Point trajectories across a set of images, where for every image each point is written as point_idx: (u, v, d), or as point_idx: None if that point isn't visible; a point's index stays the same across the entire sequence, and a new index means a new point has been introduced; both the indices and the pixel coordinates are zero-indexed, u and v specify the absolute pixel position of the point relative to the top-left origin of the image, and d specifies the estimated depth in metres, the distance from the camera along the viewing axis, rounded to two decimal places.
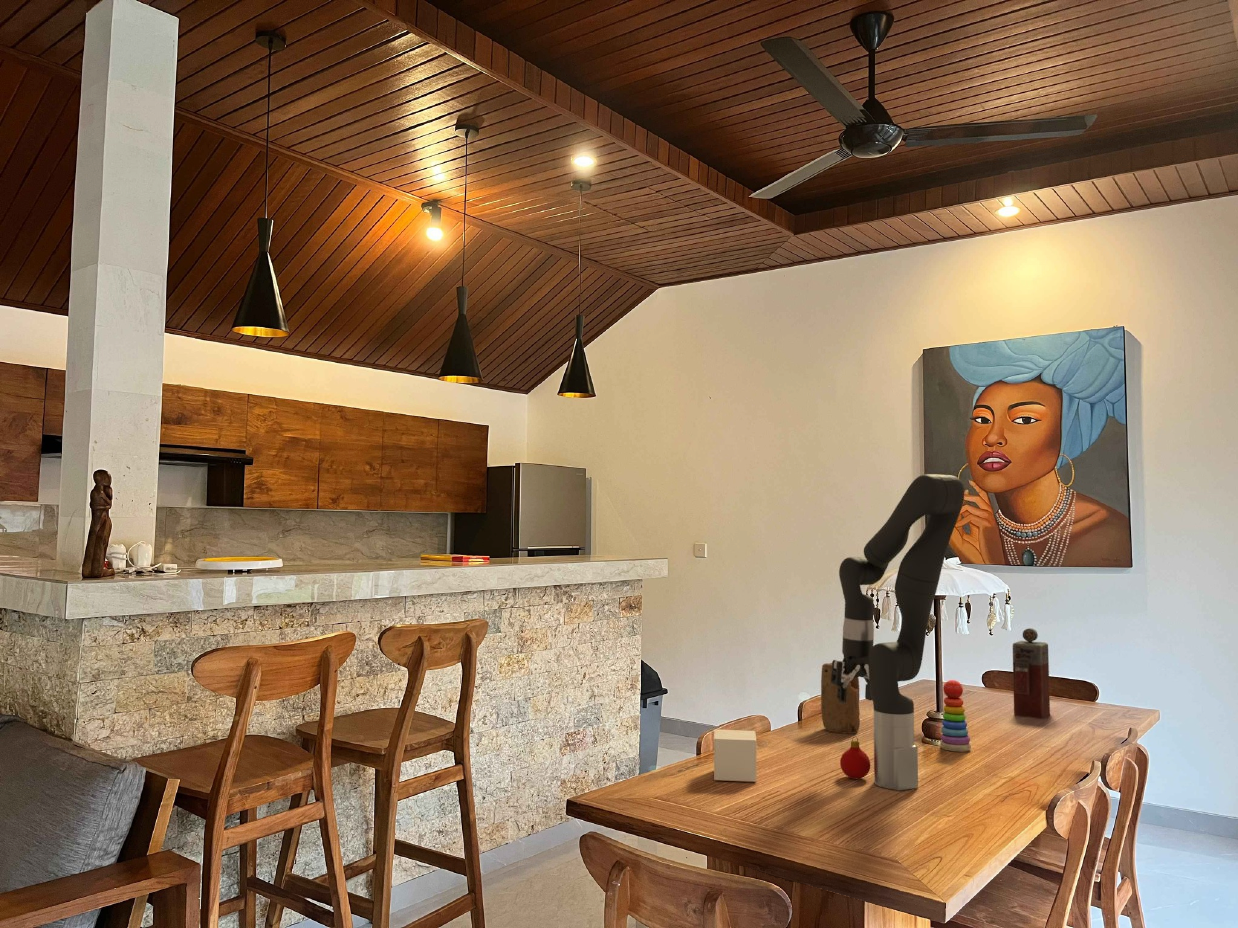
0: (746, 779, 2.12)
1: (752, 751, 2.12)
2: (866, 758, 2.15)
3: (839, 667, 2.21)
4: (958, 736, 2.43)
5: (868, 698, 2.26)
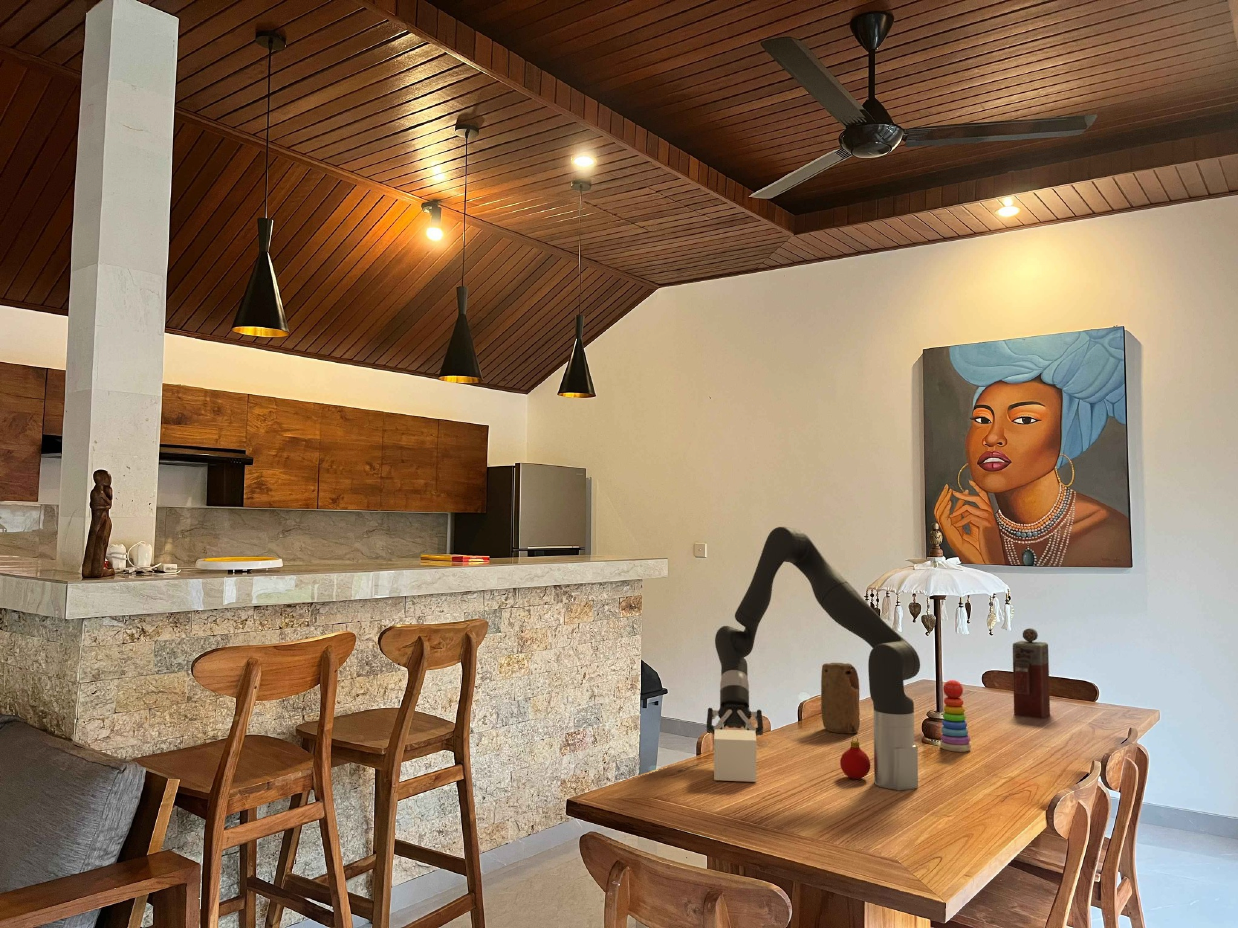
0: (746, 779, 2.12)
1: (752, 751, 2.12)
2: (866, 758, 2.15)
3: (709, 712, 2.30)
4: (958, 736, 2.43)
5: None
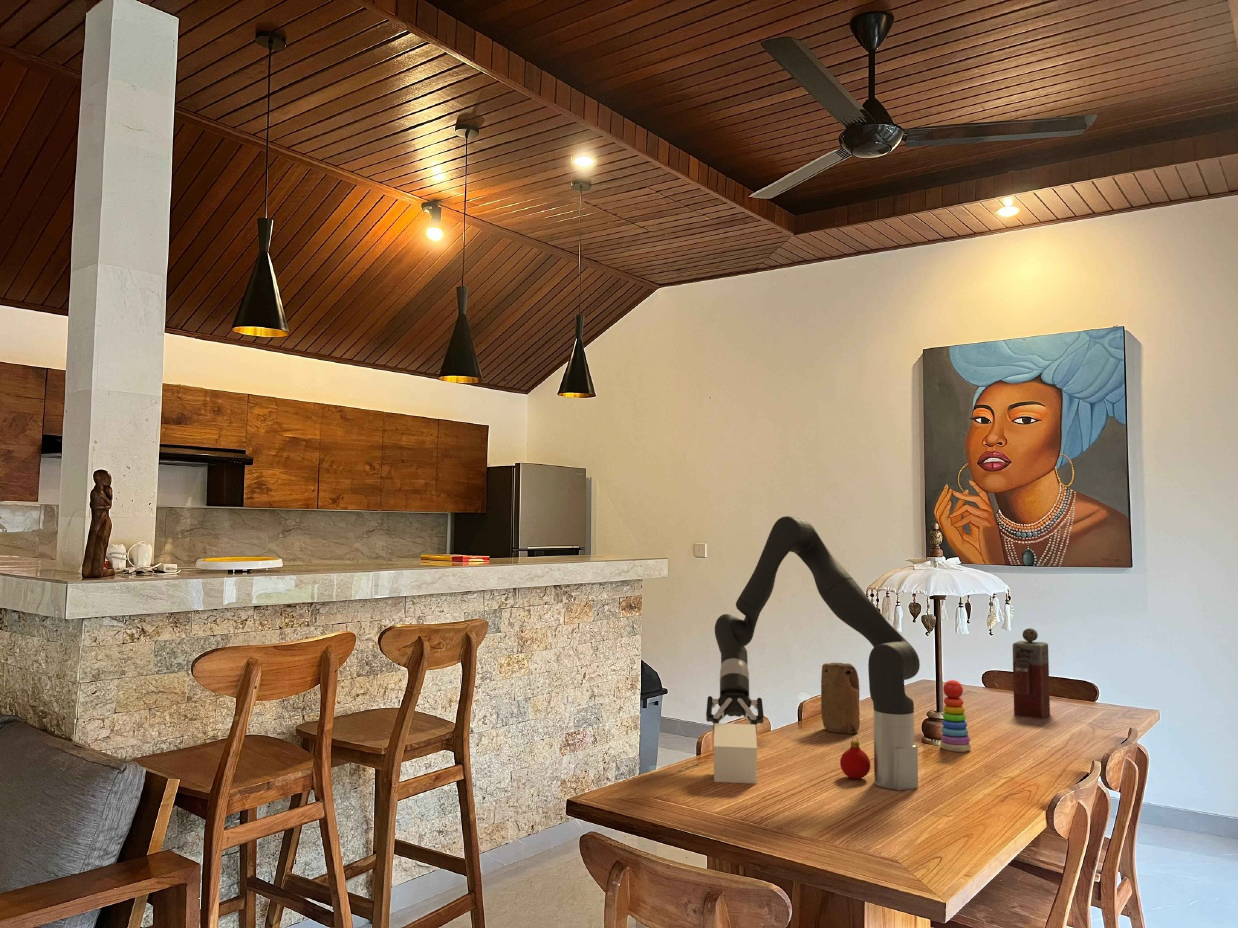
0: (746, 781, 2.12)
1: (752, 757, 2.10)
2: (866, 758, 2.15)
3: (708, 700, 2.27)
4: (958, 736, 2.43)
5: None
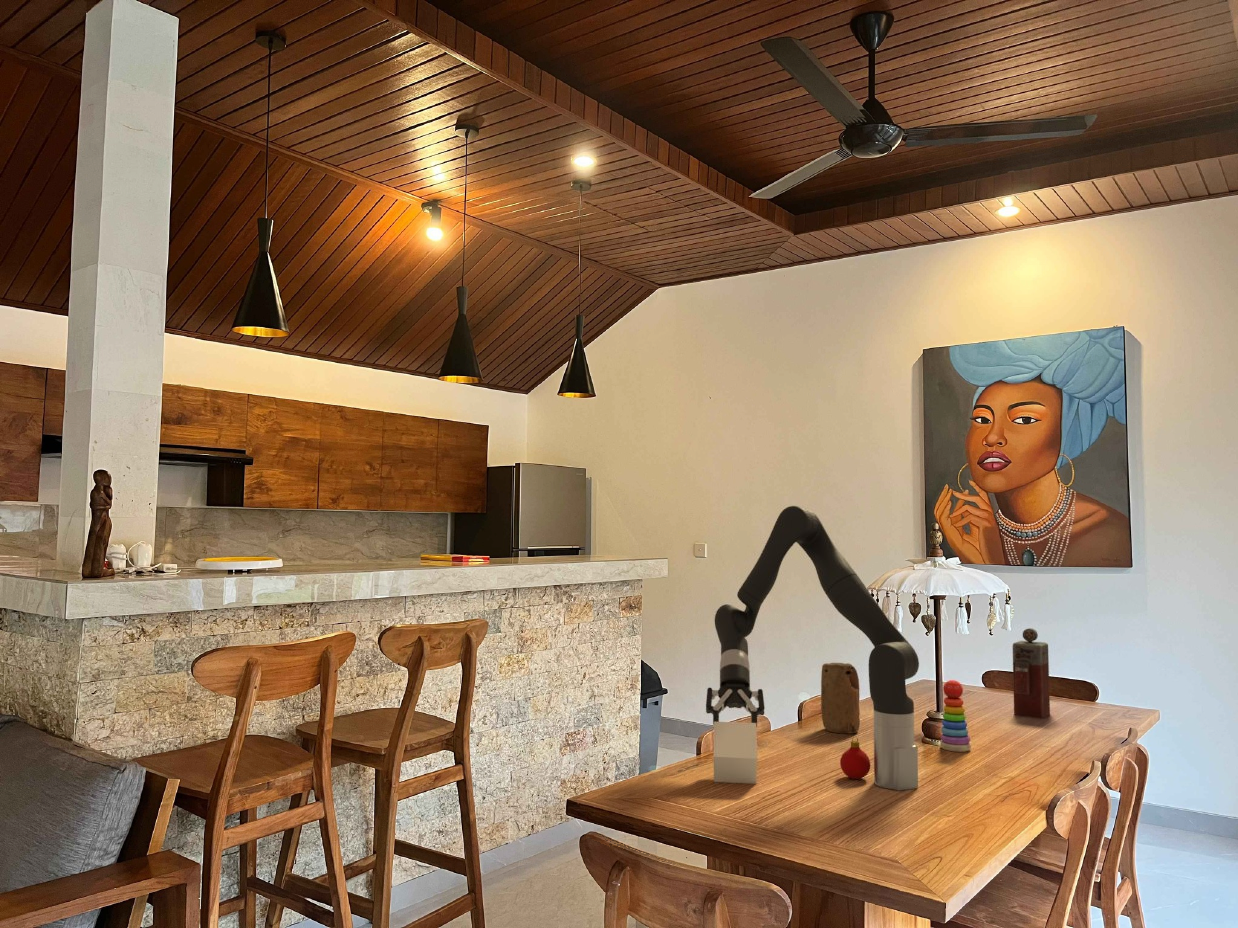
0: (746, 781, 2.11)
1: (752, 765, 2.07)
2: (866, 758, 2.15)
3: (708, 692, 2.22)
4: (958, 736, 2.43)
5: None
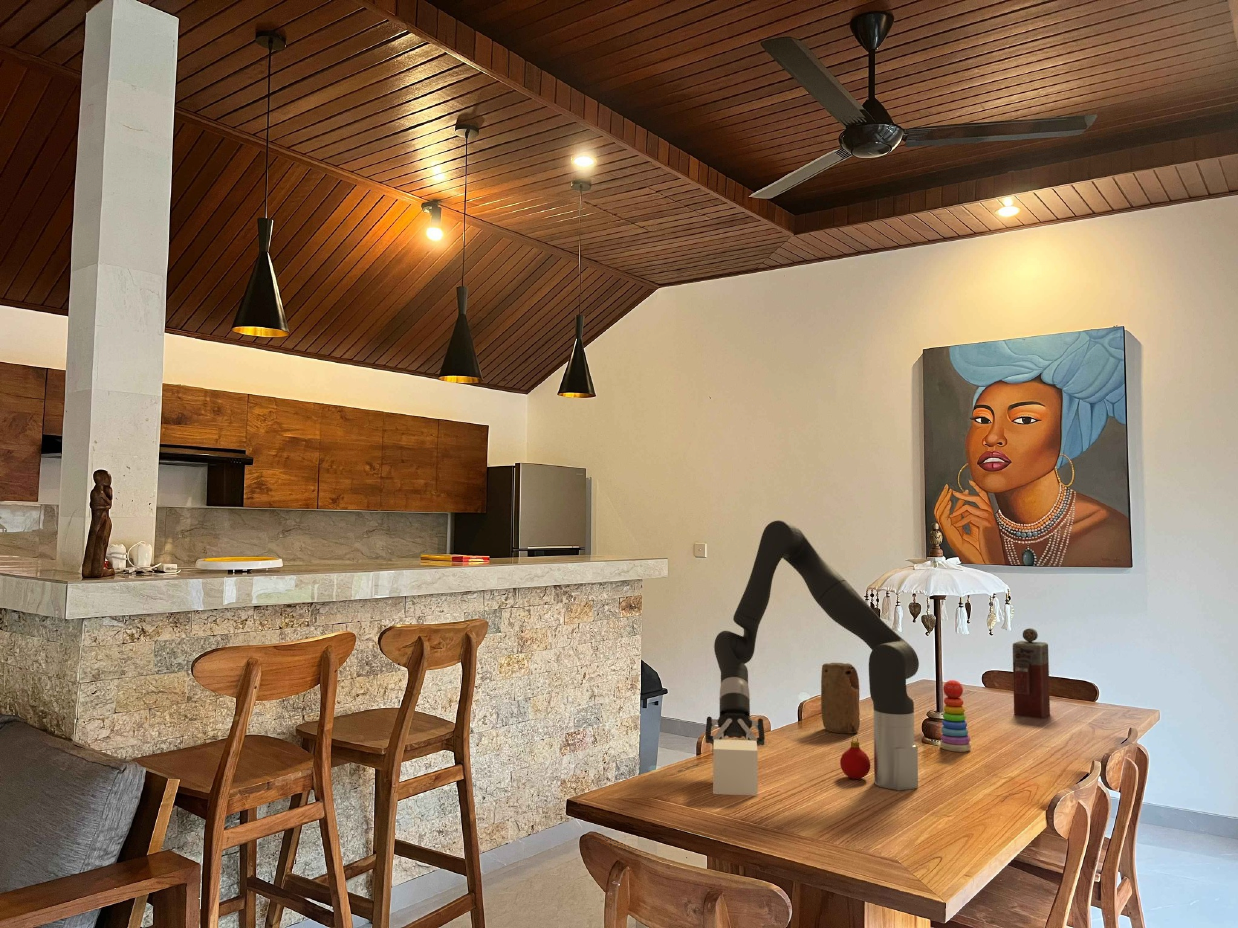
0: None
1: None
2: (866, 758, 2.15)
3: (708, 721, 2.20)
4: (958, 736, 2.43)
5: None
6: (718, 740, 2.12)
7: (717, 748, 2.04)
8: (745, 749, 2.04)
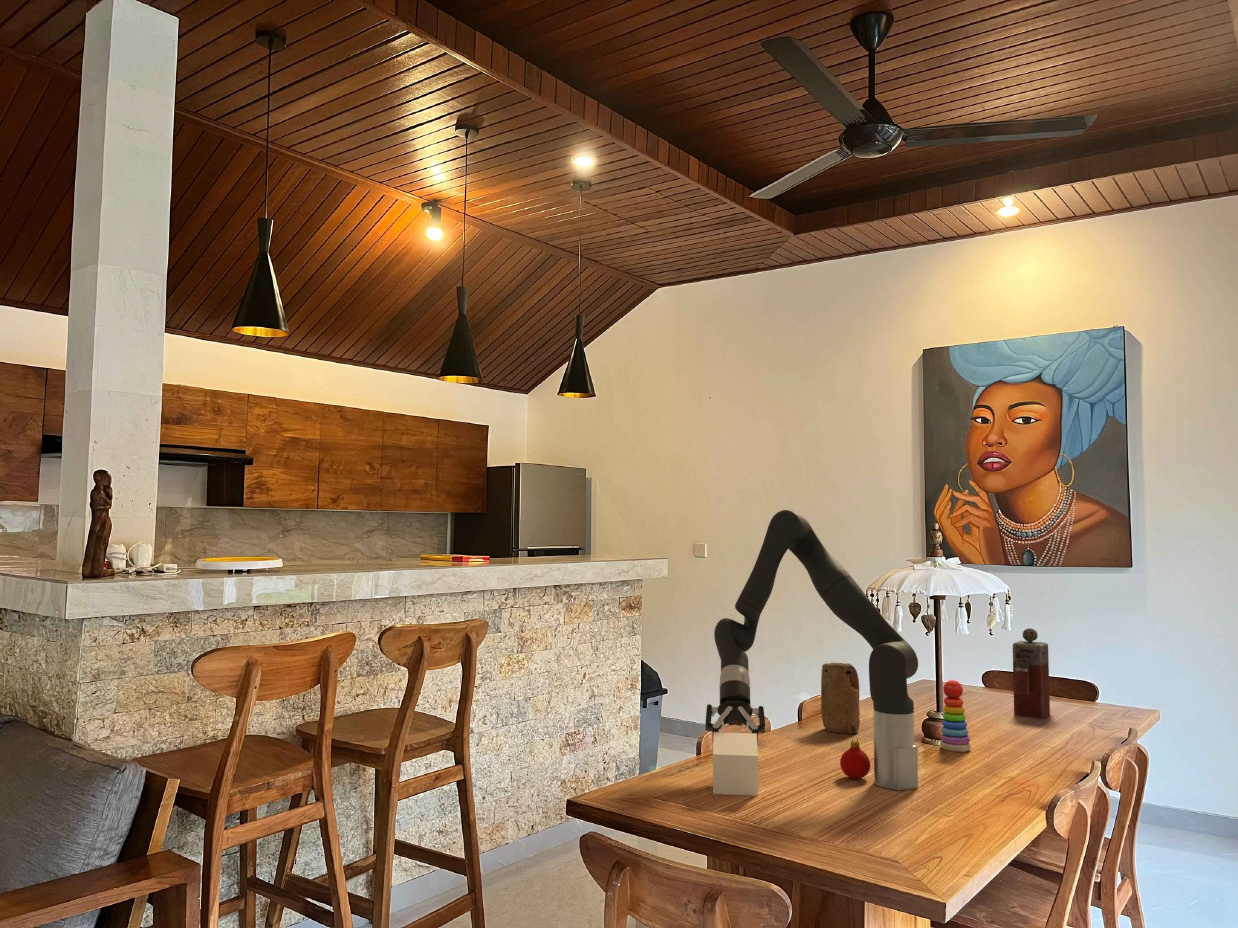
0: None
1: None
2: (866, 758, 2.15)
3: (708, 708, 2.17)
4: (958, 736, 2.43)
5: None
6: (718, 734, 2.09)
7: (717, 752, 2.01)
8: (745, 753, 2.01)
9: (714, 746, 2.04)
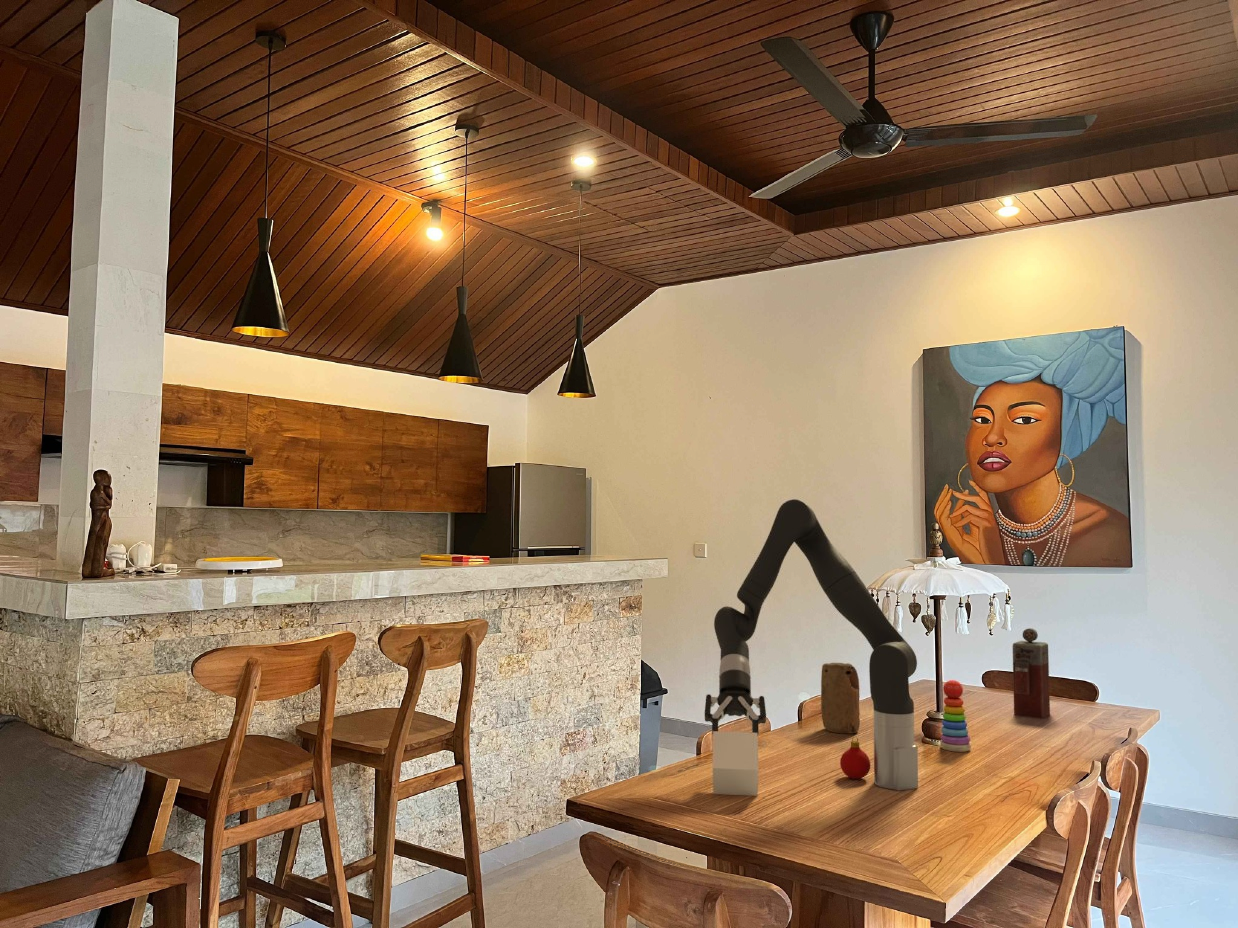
0: None
1: None
2: (866, 758, 2.15)
3: (707, 699, 2.12)
4: (958, 736, 2.43)
5: None
6: (717, 735, 2.03)
7: (717, 765, 1.97)
8: (746, 766, 1.97)
9: (714, 755, 1.99)
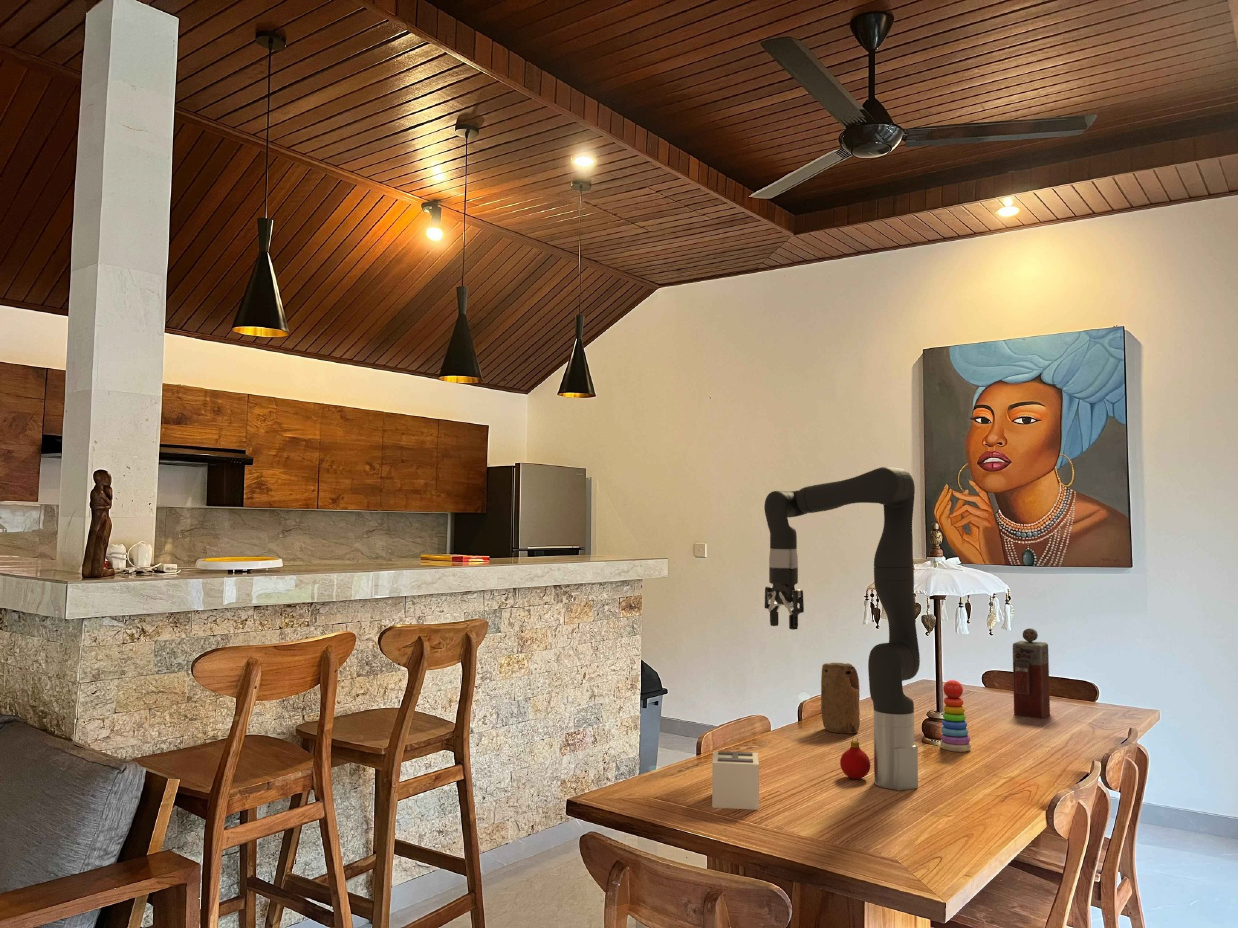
0: None
1: None
2: (866, 758, 2.15)
3: (765, 591, 2.42)
4: (958, 736, 2.43)
5: None
6: (717, 767, 1.94)
7: (716, 804, 1.93)
8: (746, 805, 1.92)
9: (713, 792, 1.93)
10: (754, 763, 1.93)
